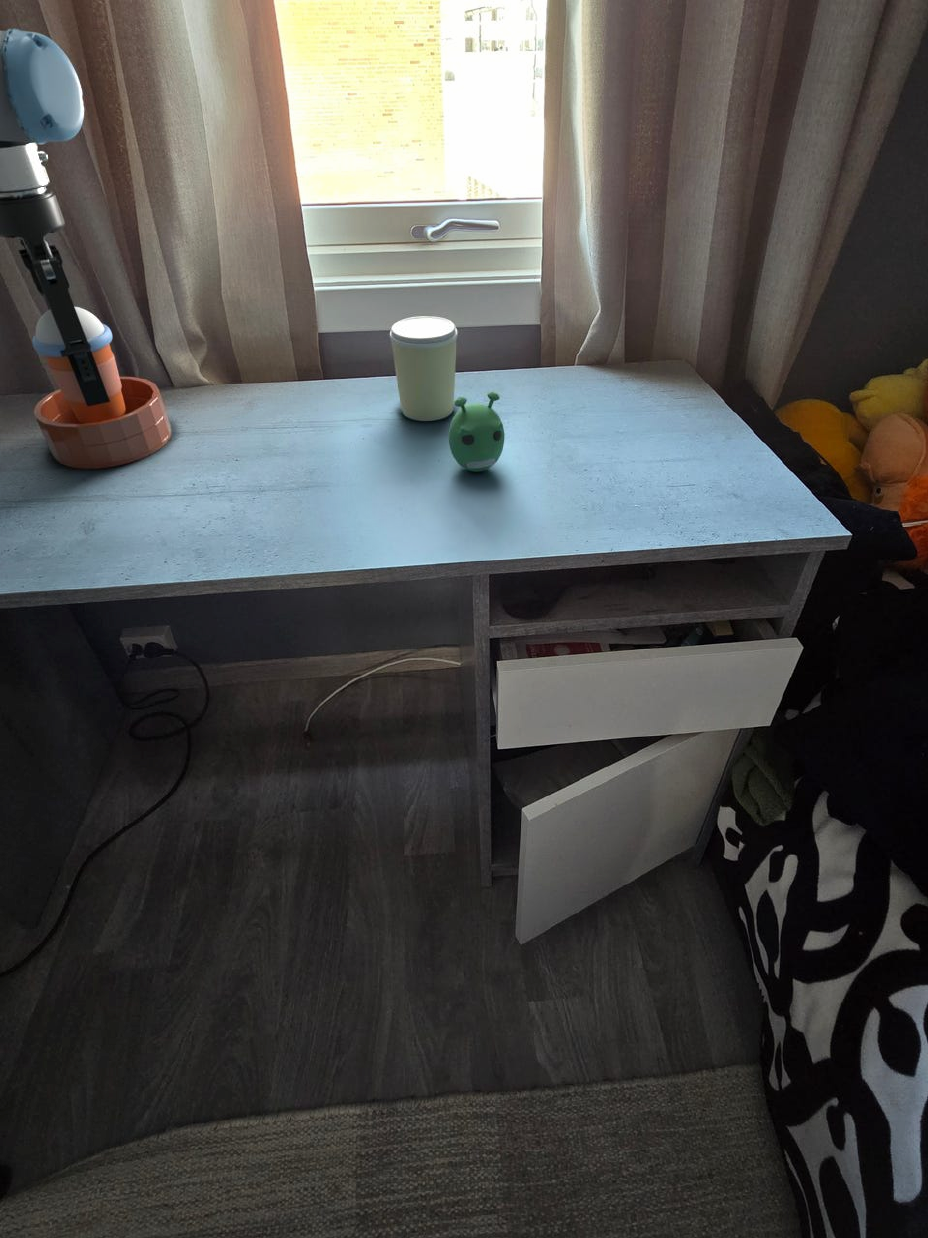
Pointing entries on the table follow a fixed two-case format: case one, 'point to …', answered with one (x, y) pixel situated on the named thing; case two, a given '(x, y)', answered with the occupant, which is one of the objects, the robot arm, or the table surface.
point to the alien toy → (476, 434)
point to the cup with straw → (61, 369)
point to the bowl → (106, 428)
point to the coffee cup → (425, 366)
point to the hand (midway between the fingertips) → (91, 389)
